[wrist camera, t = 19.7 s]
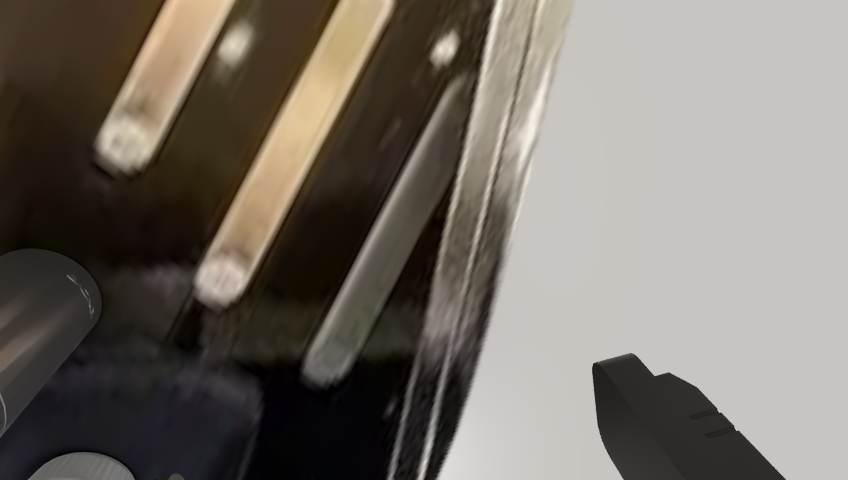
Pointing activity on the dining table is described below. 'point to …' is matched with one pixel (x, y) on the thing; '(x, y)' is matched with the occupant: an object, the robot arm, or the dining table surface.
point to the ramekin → (82, 468)
